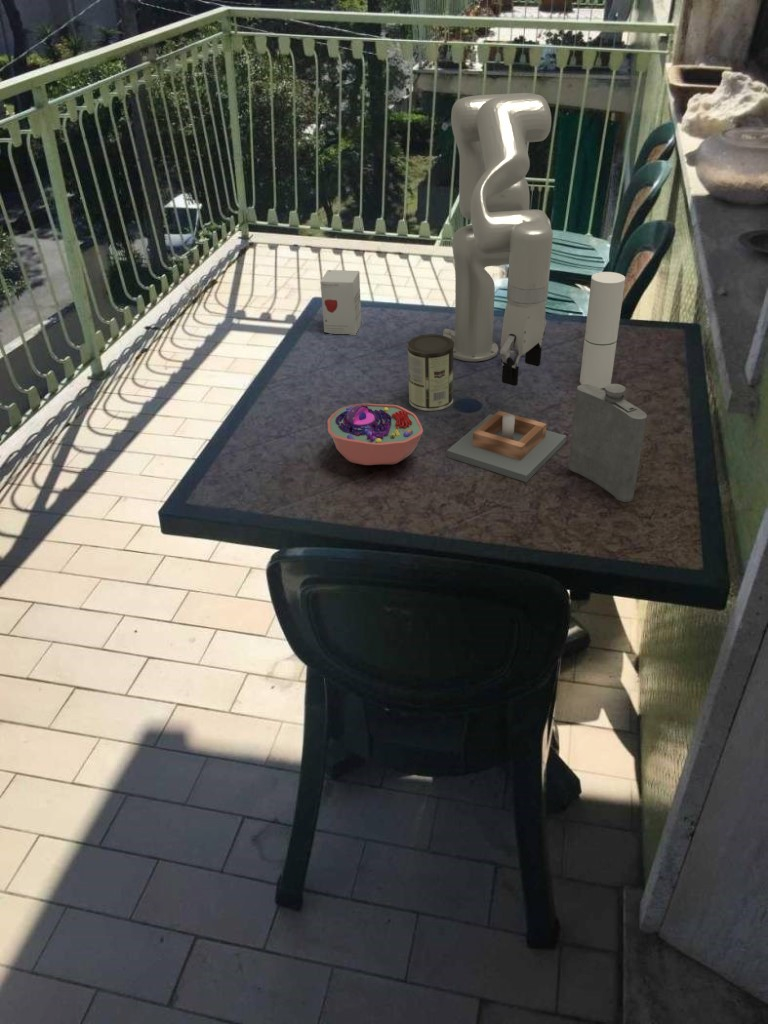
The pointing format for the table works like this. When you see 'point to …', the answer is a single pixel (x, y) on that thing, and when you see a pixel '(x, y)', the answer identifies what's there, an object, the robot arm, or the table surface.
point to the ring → (506, 446)
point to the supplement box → (341, 301)
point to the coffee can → (430, 372)
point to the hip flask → (607, 439)
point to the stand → (505, 464)
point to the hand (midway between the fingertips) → (521, 373)
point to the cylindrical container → (602, 328)
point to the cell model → (374, 433)
